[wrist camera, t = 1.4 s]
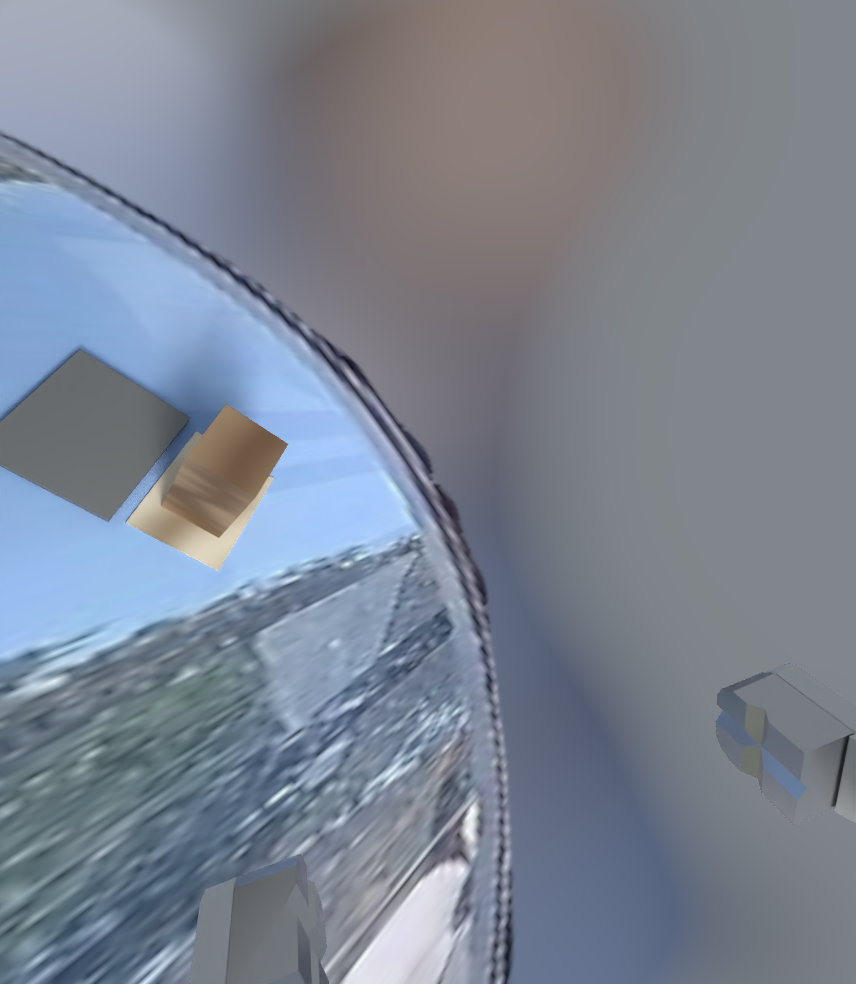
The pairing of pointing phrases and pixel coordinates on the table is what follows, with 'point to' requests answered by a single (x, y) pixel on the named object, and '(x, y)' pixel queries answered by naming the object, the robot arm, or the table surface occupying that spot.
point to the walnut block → (223, 472)
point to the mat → (88, 435)
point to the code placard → (181, 531)
